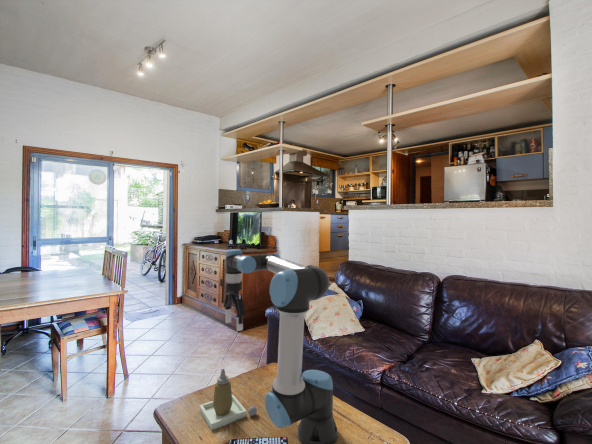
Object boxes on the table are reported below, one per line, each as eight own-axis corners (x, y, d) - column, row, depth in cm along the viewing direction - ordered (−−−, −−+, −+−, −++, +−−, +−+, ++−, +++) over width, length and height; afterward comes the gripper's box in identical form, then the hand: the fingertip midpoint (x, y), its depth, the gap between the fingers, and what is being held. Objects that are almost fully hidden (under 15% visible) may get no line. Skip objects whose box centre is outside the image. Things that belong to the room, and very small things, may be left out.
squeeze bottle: (230, 418, 123) (230, 374, 123) (210, 418, 123) (210, 374, 123) (234, 406, 131) (234, 365, 131) (216, 406, 131) (216, 364, 132)
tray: (246, 416, 125) (246, 410, 125) (211, 430, 117) (211, 424, 117) (232, 399, 138) (232, 394, 138) (199, 411, 129) (199, 405, 129)
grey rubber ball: (258, 415, 126) (258, 407, 126) (250, 419, 124) (250, 410, 124) (254, 411, 129) (254, 403, 129) (246, 414, 127) (246, 405, 127)
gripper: (252, 285, 135) (252, 332, 135) (231, 277, 156) (231, 318, 156) (237, 287, 131) (237, 335, 131) (217, 278, 152) (217, 321, 151)
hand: (233, 326), depth 143 cm, fingers open, 13 cm apart
